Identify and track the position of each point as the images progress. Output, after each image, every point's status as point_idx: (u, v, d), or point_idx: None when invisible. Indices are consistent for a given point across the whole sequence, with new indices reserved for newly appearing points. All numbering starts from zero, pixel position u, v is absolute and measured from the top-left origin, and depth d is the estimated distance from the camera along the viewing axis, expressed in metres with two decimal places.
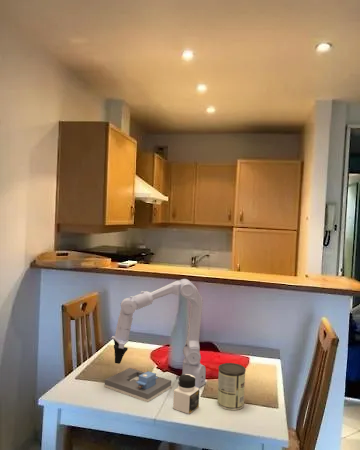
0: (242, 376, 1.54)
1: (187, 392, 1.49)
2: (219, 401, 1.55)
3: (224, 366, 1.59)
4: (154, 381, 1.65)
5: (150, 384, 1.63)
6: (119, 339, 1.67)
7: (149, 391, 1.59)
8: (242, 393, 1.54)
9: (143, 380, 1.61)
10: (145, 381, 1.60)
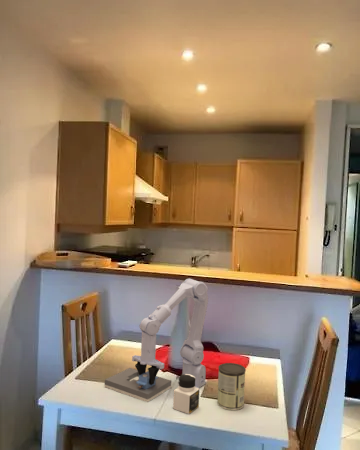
0: (242, 376, 1.54)
1: (187, 392, 1.49)
2: (219, 401, 1.55)
3: (224, 366, 1.59)
4: (154, 381, 1.65)
5: None
6: (152, 361, 1.61)
7: (149, 391, 1.59)
8: (242, 393, 1.54)
9: (143, 380, 1.61)
10: (145, 381, 1.60)
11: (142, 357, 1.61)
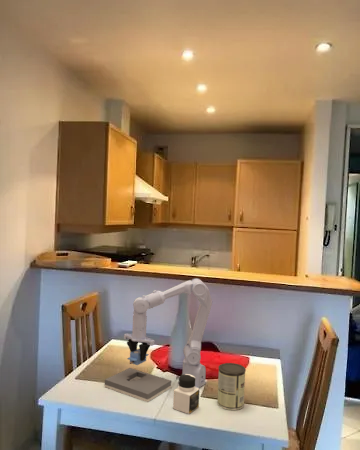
0: (242, 376, 1.54)
1: (187, 392, 1.49)
2: (219, 401, 1.55)
3: (224, 366, 1.59)
4: (145, 358, 1.73)
5: (141, 361, 1.71)
6: (142, 338, 1.69)
7: (149, 391, 1.59)
8: (242, 393, 1.54)
9: (134, 356, 1.69)
10: (136, 357, 1.69)
11: (133, 334, 1.70)
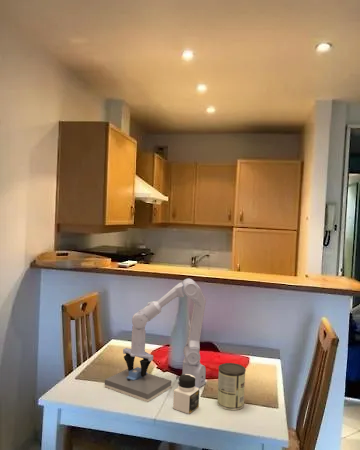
0: (242, 376, 1.54)
1: (187, 392, 1.49)
2: (219, 401, 1.55)
3: (224, 366, 1.59)
4: (143, 376, 1.74)
5: None
6: (141, 354, 1.70)
7: (149, 391, 1.59)
8: (242, 393, 1.54)
9: (133, 375, 1.70)
10: (135, 376, 1.69)
11: (132, 349, 1.71)
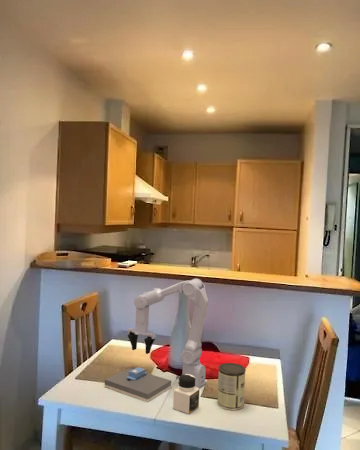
0: (242, 376, 1.54)
1: (187, 392, 1.49)
2: (219, 401, 1.55)
3: (224, 366, 1.59)
4: (143, 376, 1.74)
5: None
6: (145, 332, 1.82)
7: (149, 391, 1.59)
8: (242, 393, 1.54)
9: (133, 375, 1.70)
10: (135, 376, 1.69)
11: (136, 328, 1.82)
